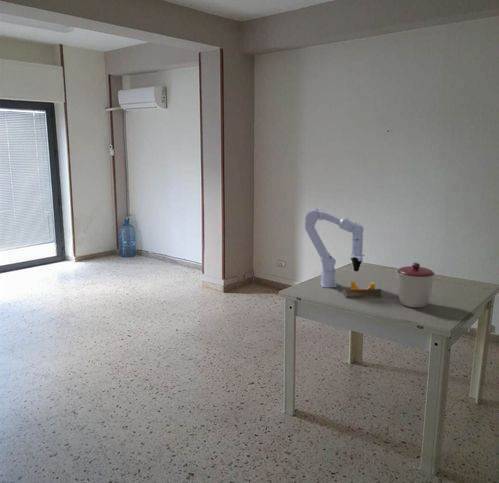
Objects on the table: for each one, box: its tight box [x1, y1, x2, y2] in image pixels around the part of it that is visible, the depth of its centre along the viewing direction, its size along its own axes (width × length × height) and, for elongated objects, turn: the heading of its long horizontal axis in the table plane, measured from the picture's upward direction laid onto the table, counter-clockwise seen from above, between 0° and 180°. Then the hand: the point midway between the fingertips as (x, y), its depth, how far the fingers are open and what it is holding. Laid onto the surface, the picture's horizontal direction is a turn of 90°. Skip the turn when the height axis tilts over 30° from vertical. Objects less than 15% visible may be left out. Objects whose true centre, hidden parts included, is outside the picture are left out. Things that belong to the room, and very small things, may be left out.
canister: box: [395, 262, 436, 309], centre depth 235 cm, size 18×18×21 cm
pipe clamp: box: [350, 280, 376, 290], centre depth 254 cm, size 12×4×6 cm, turn 73°
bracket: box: [342, 288, 382, 299], centre depth 252 cm, size 6×18×4 cm, turn 94°
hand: (356, 270), depth 264 cm, fingers closed
